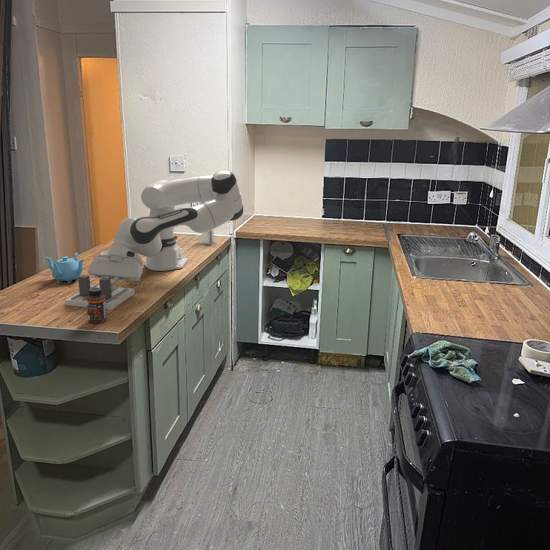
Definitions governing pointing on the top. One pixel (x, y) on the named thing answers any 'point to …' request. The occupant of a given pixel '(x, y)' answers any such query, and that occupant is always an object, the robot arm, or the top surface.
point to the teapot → (66, 268)
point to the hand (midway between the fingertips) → (108, 288)
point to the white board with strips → (116, 299)
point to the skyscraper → (208, 235)
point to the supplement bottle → (96, 306)
